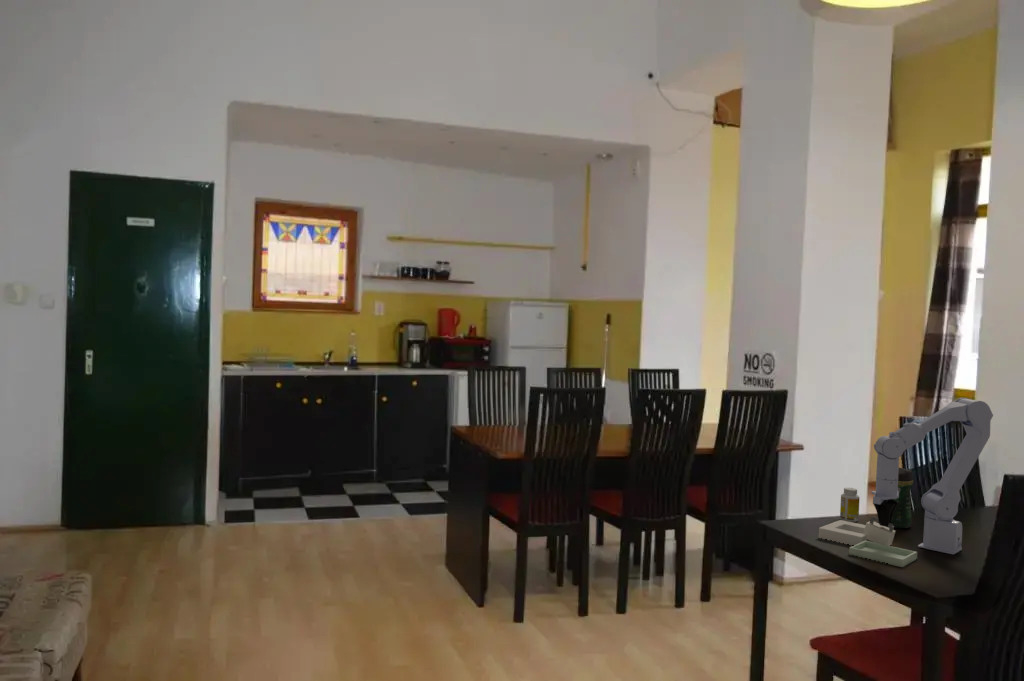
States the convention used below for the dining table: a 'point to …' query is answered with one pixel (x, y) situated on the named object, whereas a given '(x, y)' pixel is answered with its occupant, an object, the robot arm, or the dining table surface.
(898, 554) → the tray
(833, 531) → the bay
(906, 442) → the robot arm
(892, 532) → the block with grey handle
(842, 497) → the supplement bottle
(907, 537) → the dining table surface
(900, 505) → the coffee jar
